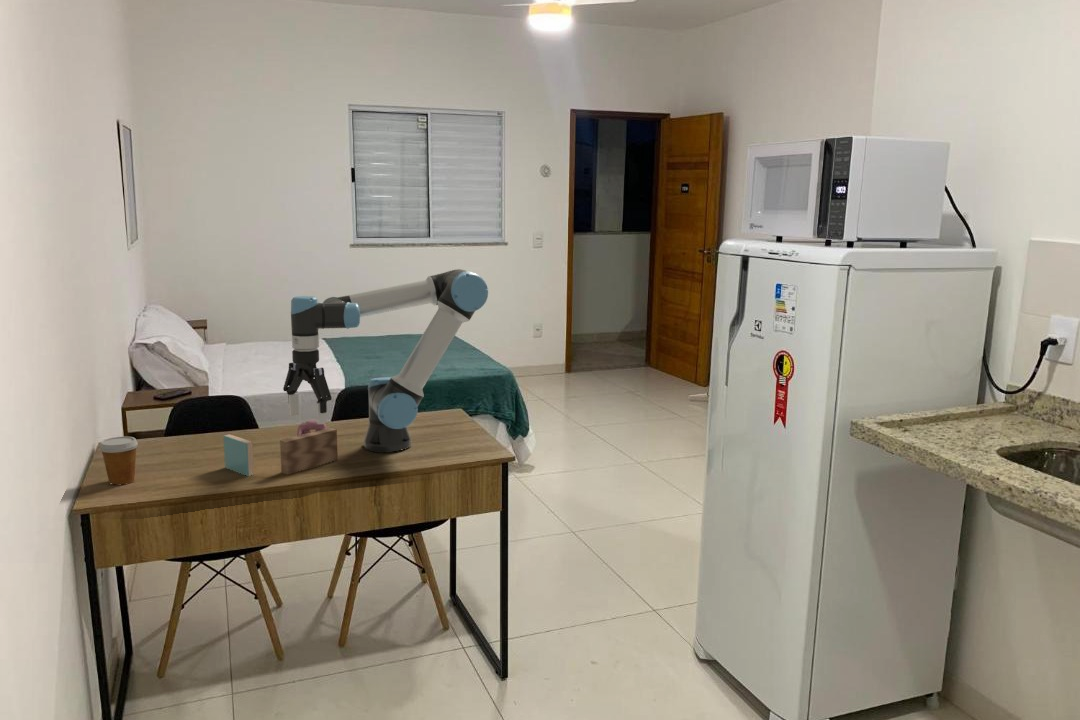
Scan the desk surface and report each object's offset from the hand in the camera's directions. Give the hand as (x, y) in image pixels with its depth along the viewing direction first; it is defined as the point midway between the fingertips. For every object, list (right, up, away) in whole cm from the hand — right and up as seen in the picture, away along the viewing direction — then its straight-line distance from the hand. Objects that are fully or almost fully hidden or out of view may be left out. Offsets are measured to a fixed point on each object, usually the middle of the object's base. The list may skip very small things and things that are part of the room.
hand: (307, 419), depth 237 cm
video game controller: (-8, -9, +32) cm, 34 cm away
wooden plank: (0, -15, +3) cm, 15 cm away
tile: (-19, -15, -3) cm, 25 cm away
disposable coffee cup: (-49, -17, -13) cm, 53 cm away
